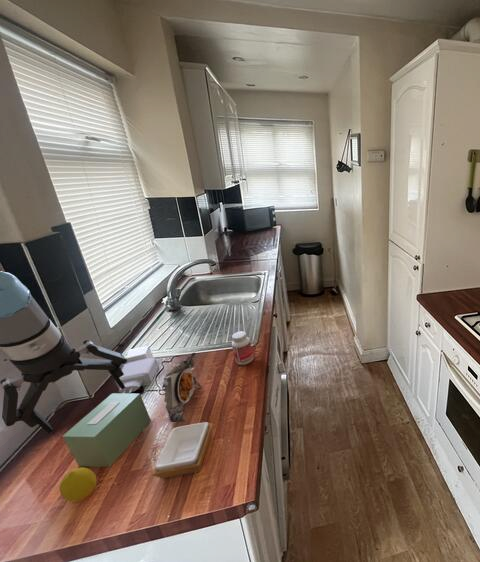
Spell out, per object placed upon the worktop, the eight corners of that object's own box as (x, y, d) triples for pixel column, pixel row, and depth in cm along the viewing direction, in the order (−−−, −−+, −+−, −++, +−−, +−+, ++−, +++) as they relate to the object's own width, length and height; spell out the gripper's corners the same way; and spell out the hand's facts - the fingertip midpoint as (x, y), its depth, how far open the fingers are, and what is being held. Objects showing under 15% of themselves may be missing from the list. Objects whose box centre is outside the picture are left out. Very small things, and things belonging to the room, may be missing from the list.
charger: (111, 403, 94) (129, 374, 107) (146, 395, 97) (159, 367, 110) (105, 391, 92) (124, 362, 105) (141, 383, 95) (155, 356, 108)
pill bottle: (257, 356, 115) (251, 330, 111) (247, 366, 109) (241, 340, 105) (242, 354, 116) (236, 329, 112) (232, 364, 110) (225, 338, 106)
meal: (187, 421, 87) (174, 384, 82) (171, 423, 86) (157, 386, 81) (205, 385, 101) (195, 351, 96) (191, 386, 100) (180, 353, 95)
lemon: (64, 514, 65) (47, 489, 62) (75, 490, 69) (60, 465, 66) (96, 503, 67) (82, 478, 64) (105, 480, 71) (92, 456, 68)
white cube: (130, 372, 108) (124, 358, 106) (134, 363, 113) (129, 349, 111) (150, 367, 110) (145, 353, 108) (153, 358, 115) (148, 345, 113)
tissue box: (78, 466, 75) (61, 436, 71) (124, 420, 88) (111, 392, 84) (110, 466, 74) (94, 436, 71) (151, 420, 87) (139, 393, 84)
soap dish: (176, 440, 81) (171, 425, 79) (216, 432, 83) (212, 418, 81) (156, 485, 70) (149, 470, 68) (202, 476, 72) (197, 460, 70)
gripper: (-64, 406, 47) (18, 462, 60) (121, 320, 64) (154, 378, 77) (-75, 378, 50) (6, 437, 63) (105, 303, 67) (139, 362, 80)
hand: (87, 405), depth 70 cm, fingers open, 13 cm apart
